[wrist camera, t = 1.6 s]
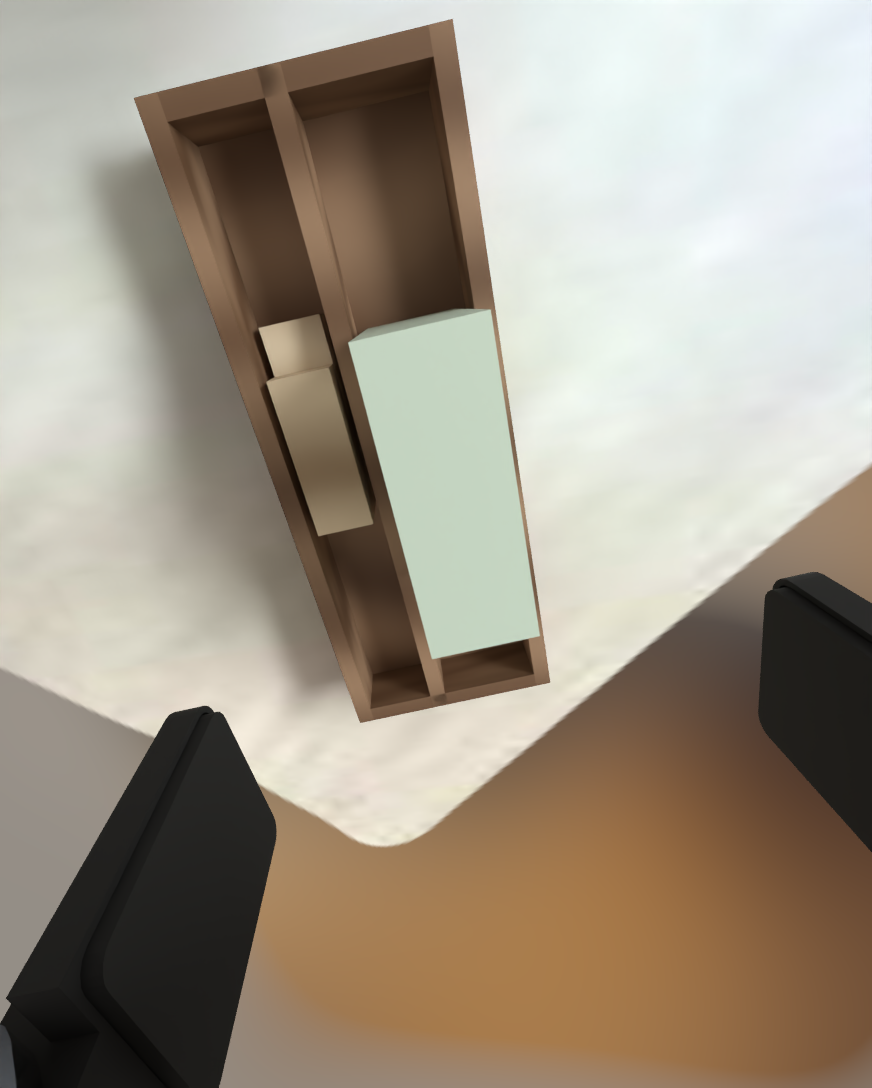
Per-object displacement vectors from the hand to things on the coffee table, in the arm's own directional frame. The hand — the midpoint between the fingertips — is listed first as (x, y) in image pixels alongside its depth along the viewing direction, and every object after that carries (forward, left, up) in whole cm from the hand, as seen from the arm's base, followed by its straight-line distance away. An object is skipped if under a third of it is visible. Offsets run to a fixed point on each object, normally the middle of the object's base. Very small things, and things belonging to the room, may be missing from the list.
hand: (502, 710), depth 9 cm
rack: (0, -2, -20) cm, 20 cm away
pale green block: (0, 0, -19) cm, 19 cm away
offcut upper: (-1, -5, -17) cm, 18 cm away
